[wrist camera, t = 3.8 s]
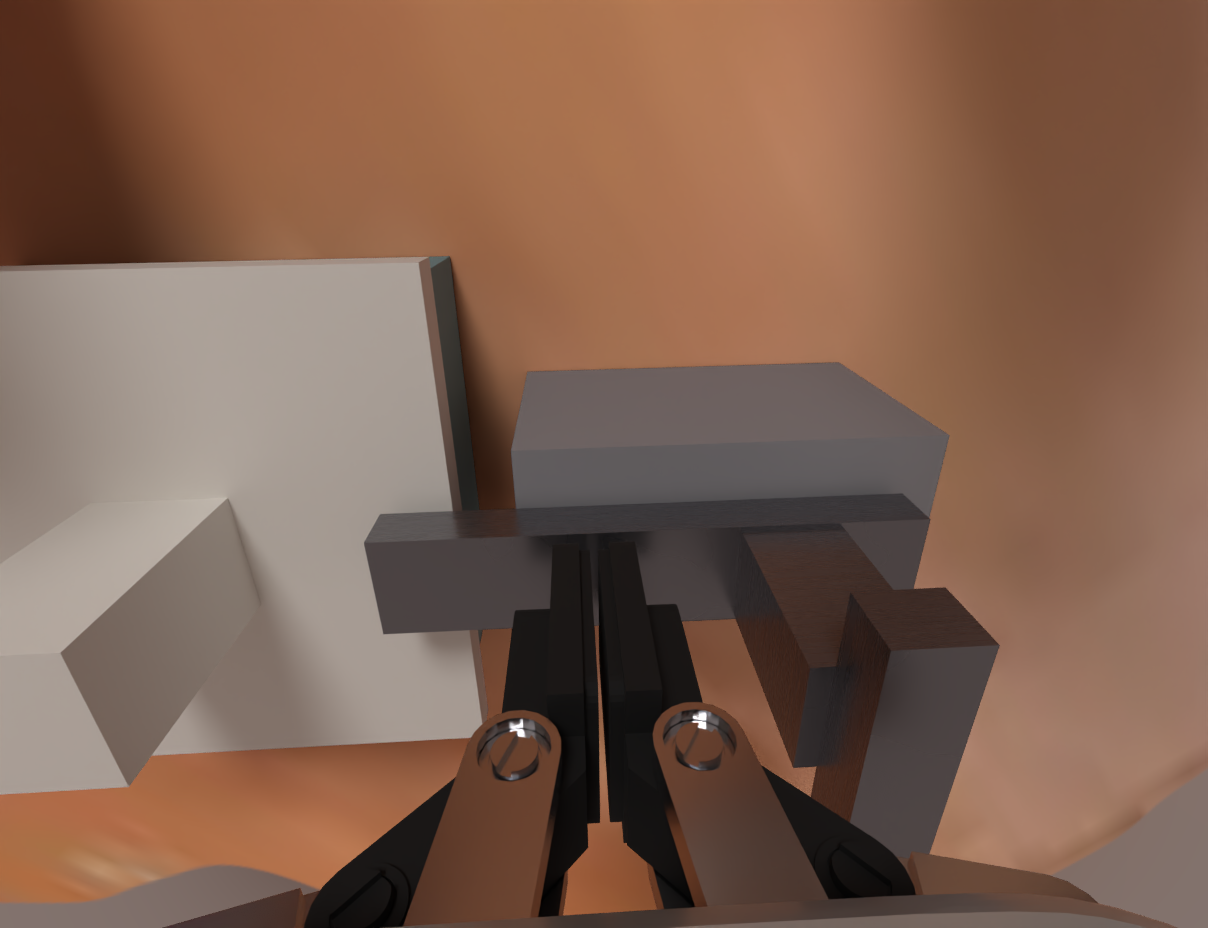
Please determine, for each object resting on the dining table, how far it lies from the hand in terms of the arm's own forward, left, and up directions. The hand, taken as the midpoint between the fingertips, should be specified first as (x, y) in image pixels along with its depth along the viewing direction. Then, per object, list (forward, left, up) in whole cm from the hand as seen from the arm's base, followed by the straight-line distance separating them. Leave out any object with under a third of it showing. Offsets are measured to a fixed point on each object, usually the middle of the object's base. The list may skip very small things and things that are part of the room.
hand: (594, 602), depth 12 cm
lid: (0, -10, -4) cm, 10 cm away
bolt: (0, +1, -2) cm, 2 cm away
